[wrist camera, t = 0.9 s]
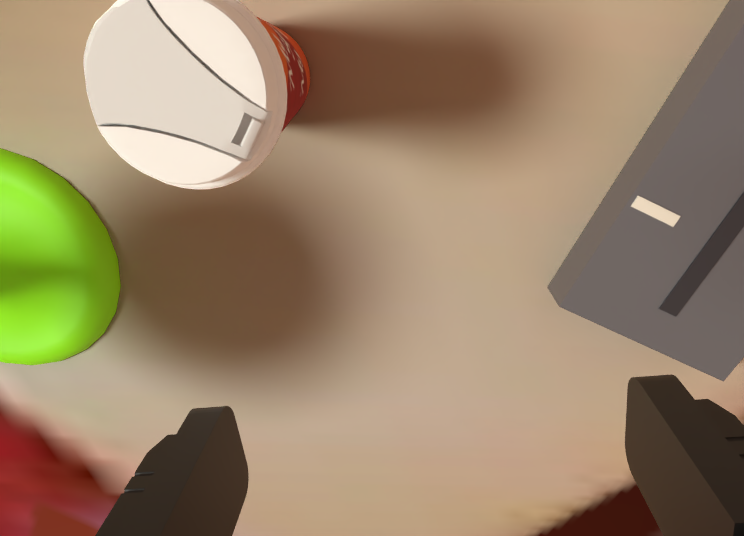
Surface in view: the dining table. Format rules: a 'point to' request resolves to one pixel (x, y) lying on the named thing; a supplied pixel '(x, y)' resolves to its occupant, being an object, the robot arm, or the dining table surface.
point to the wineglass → (51, 266)
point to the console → (675, 221)
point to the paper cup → (192, 87)
